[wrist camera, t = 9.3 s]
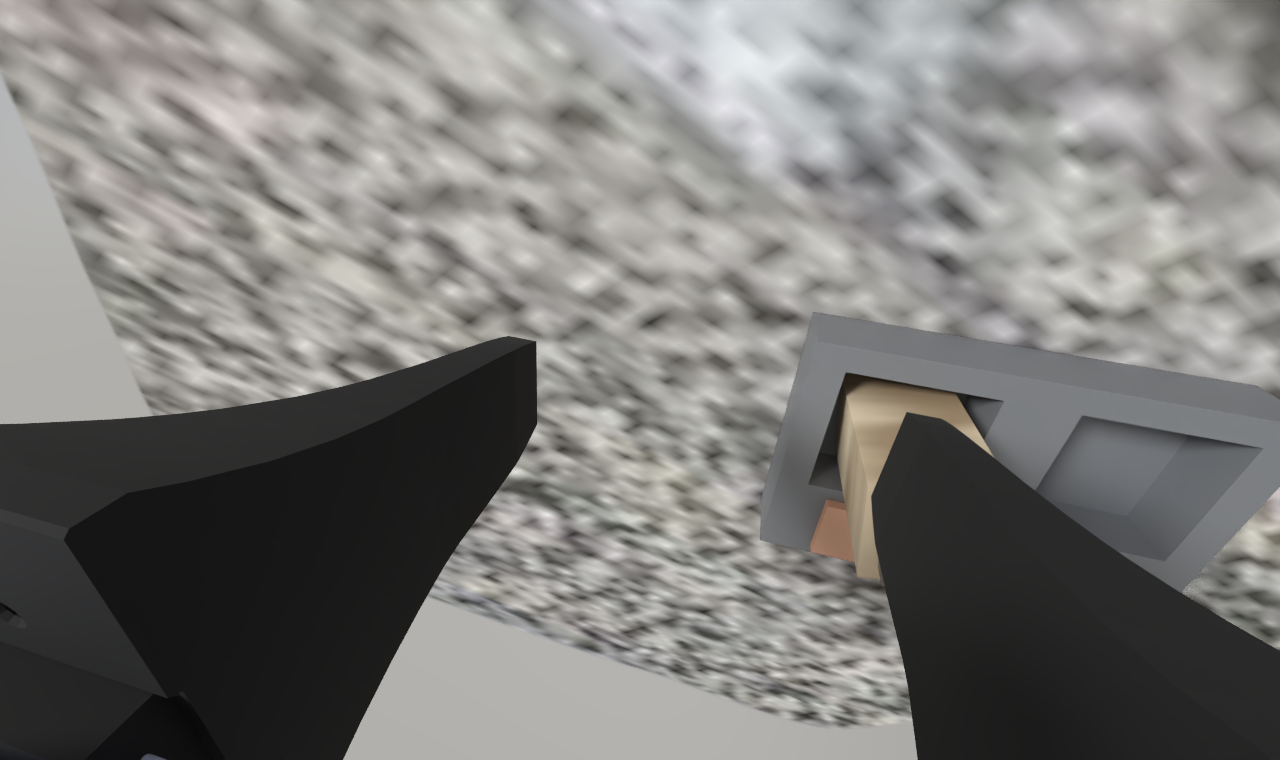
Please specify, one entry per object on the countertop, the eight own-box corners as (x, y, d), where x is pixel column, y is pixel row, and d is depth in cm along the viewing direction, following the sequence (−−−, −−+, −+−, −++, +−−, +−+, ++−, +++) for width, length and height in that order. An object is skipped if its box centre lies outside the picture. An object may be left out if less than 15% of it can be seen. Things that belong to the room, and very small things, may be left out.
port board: (1257, 386, 17) (1345, 438, 14) (1105, 574, 21) (1151, 640, 18) (813, 312, 19) (819, 346, 16) (761, 497, 23) (759, 547, 21)
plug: (943, 373, 18) (1028, 513, 12) (929, 451, 20) (998, 611, 14) (841, 373, 19) (872, 503, 13) (835, 448, 21) (860, 596, 15)
